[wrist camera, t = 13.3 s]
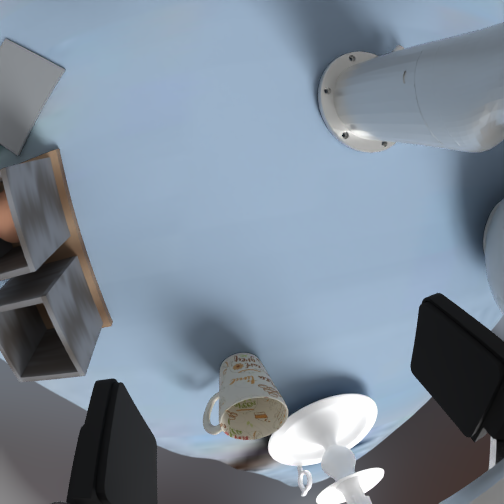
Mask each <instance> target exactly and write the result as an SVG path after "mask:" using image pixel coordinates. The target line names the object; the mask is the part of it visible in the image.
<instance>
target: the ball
mask: <svg viewBox="0 0 504 504" xmlns="http://www.w3.org/2000/svg"><path fill="white" fill-rule="evenodd" d="M0 238H1V239H3V240H5V241H7V242H10V243H18V242H20V241H19V238H18V235H17V232H16V229H15V226H14V222H13V219H12V215H11V212H10V208H9V205H8V201H7V197H6V193H5V190H3V191H2V192H1V193H0Z"/></svg>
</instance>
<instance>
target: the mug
mask: <svg viewBox="0 0 504 504" xmlns="http://www.w3.org/2000/svg"><path fill="white" fill-rule="evenodd" d="M218 399H219V425H217V426H213V425H212V424H211V423H210V414H211V411H212V408H213V405H214V403H215V402H216V401H217V400H218ZM287 417H288V408H287V405H286V403H285V401H284V400H283V398H282V396H281V395H280V393H279V391H278V390H277V388H276V386H275V385H274V383H273V381H272V380H271V378H270V376H269V375H268V373H267V371H266V369H265V368H264V366H263V364H262V363H261V361H260V360H259V358H258V357H256V356H255V355H253V354H250V353H237V354H234V355H231V356H229V357H228V358H227V359H225V360H224V361H223V363H222V364H221V367H220V378H219V392H218V393H216V394H215V395H214V396H213V397H212V398H211V399H210V400H209V402H208V404H207V406H206V409H205V412H204V415H203V426H204V429H205V430H206V431H207V432H208V433H209V434H212V435H216V434H218V433H220V432H222V431H223V432H224V433H225V434H227V435H228V436H230V437H233V438H236V439H241V440H253V439H259V438H263V437H266V436H268V435H270V434H272V433H274V432H276V431H277V430H278V429H280V428H281V427H282V426H283V424H284V423H285V422H286V420H287Z"/></svg>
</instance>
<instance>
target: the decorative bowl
mask: <svg viewBox="0 0 504 504" xmlns="http://www.w3.org/2000/svg"><path fill="white" fill-rule="evenodd" d="M483 250H484V255H485V265H486V273H487V278H488V282H489V286H490V289H491V292H492V294H493V297H494V299H495V301H496V303H497V305H498V307H499V309H500V311H501V312H502V314H503V315H504V199H503V200H502V201H500V202H499V203H498V204H497V205H496V206H495V207H494V208H493V210H492V212H491V213H490V216H489V218H488V220H487V223H486V226H485V230H484V236H483Z"/></svg>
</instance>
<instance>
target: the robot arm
mask: <svg viewBox="0 0 504 504" xmlns="http://www.w3.org/2000/svg"><path fill="white" fill-rule="evenodd" d="M349 58H350V60H349ZM324 90H326V94H325V92H324ZM318 103H319V109H320V112H321V115H322V118H323V120H324V122H325V124H326V126H327V128H328V129H329V130H330V132H331V133H332V134H333V136H334V137H335V138H337V139H338V140H339V141H340V142H341V143H343V144H344V145H346V146H347V147H349V148H351V149H354V150H356V151H361V152H370V153H374V152H381V151H383V150H386V149H388V148H390V147H391V146H393V145H394V144H395V143H396V142H397V143H406V144H414V145H422V146H429V147H436V148H443V149H449V150H455V151H462V152H470V153H478V152H484V151H487V150H490V149H492V148H493V147H495V146H497V145H498V144H499V143H500V142H502V141H503V140H504V22H502V23H500V24H497V25H493V26H490V27H487V28H484V29H481V30H477V31H473V32H469V33H466V34H461V35H457V36H453V37H449V38H444V39H440V40H436V41H432V42H428V43H424V44H420V45H416V46H413V47H409V48H405V49H404V48H403V47H402V46H400V45H397V46H396V47H395V48H394V49H393V51H392V52H391V53H388V54H385V55H382V56H377V55H375V54H372V53H369V52H361V51H358V52H350V53H347V54H344V55H342V56H340V57H338V58H336V59H335V60H334V61H332V62H331V63H330V64H329V65H328V67H327V68H326V69H325V70H324V73H323V75H322V77H321V79H320V83H319V87H318ZM342 133H343V135H344V136H343V137H342ZM411 371H412V373H413V375H414V376H415V377H416V378H417V379H418V380H419V382H420V383H421V384H422V385H423V386H424V387H425V389H426V390H427V391H428V392H429V393H430V394H431V396H432V397H433V398H434V399H435V400H436V401H437V403H438V404H439V405H440V406H441V407H442V409H443V410H444V411H445V412H446V413H447V415H448V416H449V417H450V418H451V419H452V420H453V422H454V423H455V424H456V425H457V426H458V428H459V429H460V430H461V431H462V433H463V434H464V435H465V436H466V437H471V439H472V440H473V441H474V442H476V441H477V440H479V439H480V438H482V437H483V436H485V435H486V433H487V432H488V433H489V434H490V436H491V447H490V462H489V470H488V471H487V472H486V473H484V474H483V475H482V476H480V477H479V478H477V479H476V480H474V481H473V482H472V483H470V484H469V485H467V486H466V487H464V488H463V489H462V490H460V491H458V492H457V493H455V494H454V495H452V496H450V497H449V498H447V499H446V500H444V501H442V502H441V503H439V504H504V342H503V341H502V340H501V339H500V338H499V337H498V336H496V335H495V334H494V333H492V332H491V331H490V330H489V329H487V328H486V327H485V326H484V325H482V324H481V323H480V322H478V321H477V320H476V319H475V318H473V317H472V316H471V315H469V314H468V313H467V312H465V311H464V310H463V309H461V308H460V307H459V306H457V305H456V304H455V303H453V302H452V301H451V300H449V299H448V298H447V297H445V296H444V295H443V294H441V293H437V294H434V295H431V296H429V297H426V298H424V299H423V301H422V304H421V305H420V307H419V314H418V321H417V329H416V336H415V342H414V348H413V354H412V360H411ZM51 504H157V444H156V440H155V437H154V435H153V434H152V432H151V430H150V429H149V427H148V426H147V424H146V422H145V421H144V419H143V417H142V416H141V414H140V412H139V411H138V409H137V407H136V406H135V404H134V402H133V400H132V399H131V397H130V395H129V393H128V391H127V390H126V388H125V386H124V384H123V383H121V382H120V383H118V382H117V380H116V379H106V380H98V381H96V382H95V384H94V388H93V392H92V396H91V400H90V404H89V408H88V412H87V416H86V420H85V424H84V425H83V427H82V428H81V430H80V433H79V437H78V442H77V447H76V451H75V456H74V461H73V466H72V471H71V477H70V483H69V489H68V495H67V501H66V502H61V501H60V502H53V503H51Z"/></svg>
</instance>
